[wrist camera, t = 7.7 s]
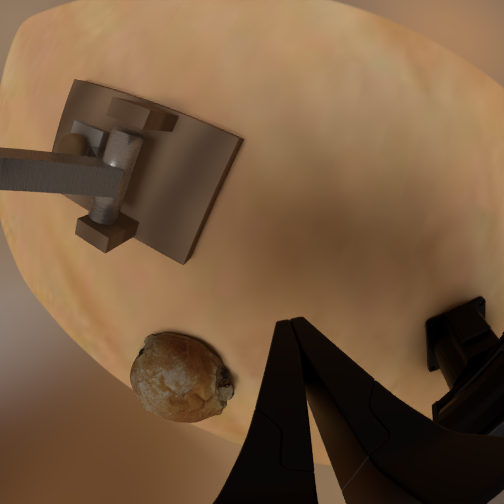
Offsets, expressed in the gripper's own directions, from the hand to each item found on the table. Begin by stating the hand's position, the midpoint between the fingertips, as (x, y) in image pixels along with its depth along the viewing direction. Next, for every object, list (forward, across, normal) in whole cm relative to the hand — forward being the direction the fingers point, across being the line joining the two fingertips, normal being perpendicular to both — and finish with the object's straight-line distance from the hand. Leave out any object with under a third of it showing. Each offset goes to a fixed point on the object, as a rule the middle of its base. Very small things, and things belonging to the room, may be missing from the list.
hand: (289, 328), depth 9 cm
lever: (+13, +8, -4) cm, 15 cm away
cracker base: (+16, +9, -4) cm, 19 cm away
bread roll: (+12, +9, +16) cm, 22 cm away
